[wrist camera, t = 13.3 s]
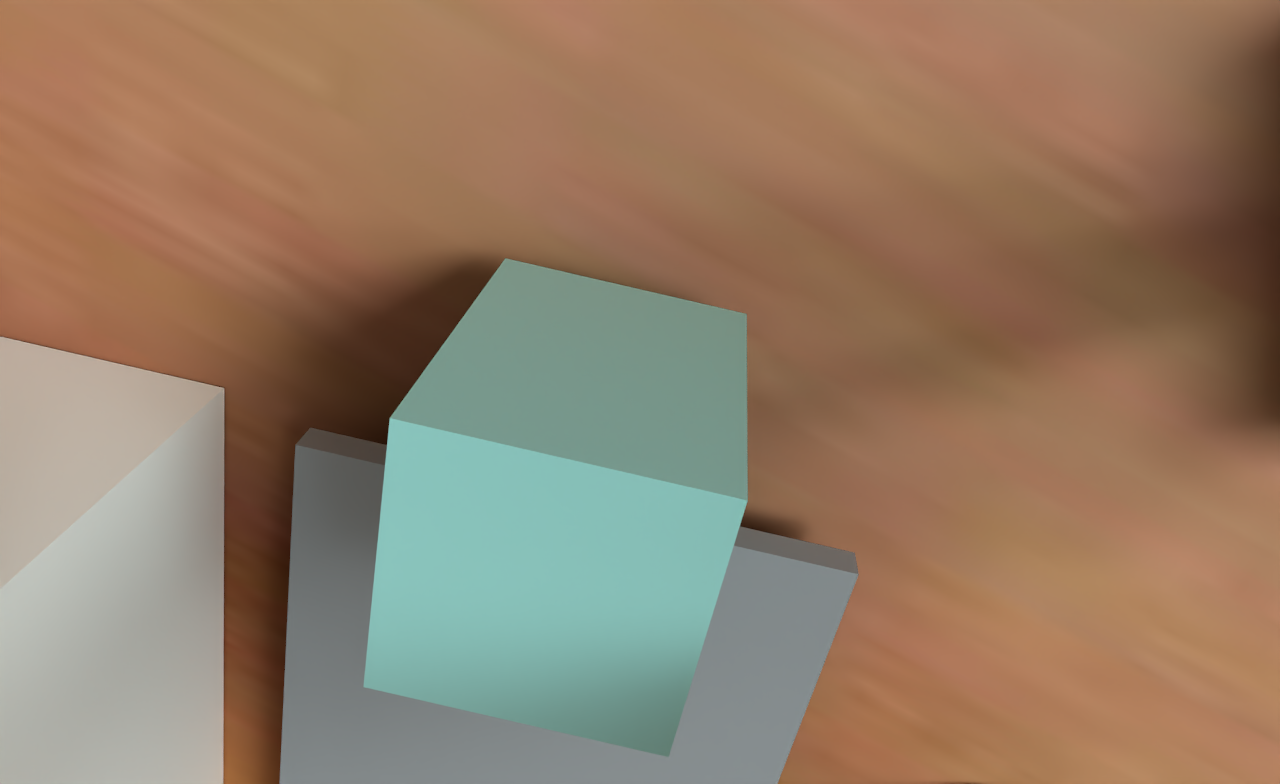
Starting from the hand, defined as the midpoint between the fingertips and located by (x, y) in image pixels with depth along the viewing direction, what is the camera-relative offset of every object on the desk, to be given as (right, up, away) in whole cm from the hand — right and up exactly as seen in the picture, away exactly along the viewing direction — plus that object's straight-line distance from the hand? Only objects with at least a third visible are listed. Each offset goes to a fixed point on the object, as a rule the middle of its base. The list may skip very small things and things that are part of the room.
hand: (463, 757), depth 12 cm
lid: (0, -2, +13) cm, 13 cm away
